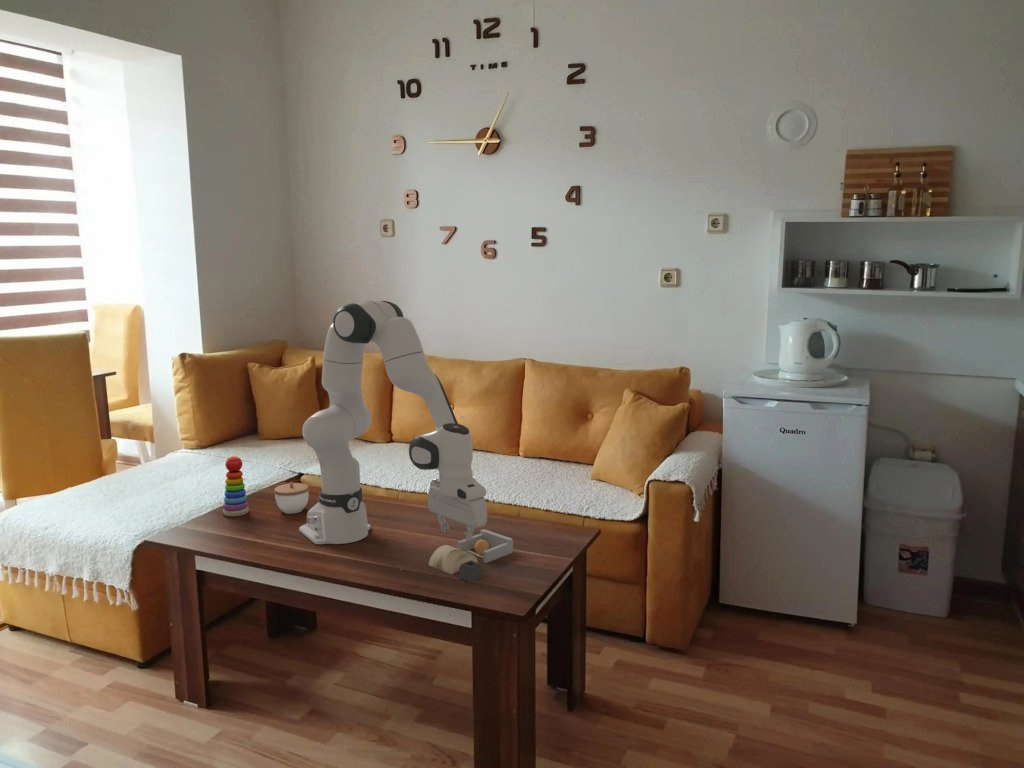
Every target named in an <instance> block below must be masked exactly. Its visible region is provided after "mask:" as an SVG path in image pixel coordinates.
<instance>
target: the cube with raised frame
mask: <svg viewBox="0 0 1024 768" xmlns="http://www.w3.org/2000/svg"><path fill="white" fill-rule="evenodd" d="M482 568H483V567H482V566H481V564H480V563H479V562H478V563H477V562H474V561H471V560H470V561H468V562H465V563H462V564H461V567H459V571H458V573H459V579H461V580H463V581H466V582H468V583H472V582H475V581H476V580H480V579H482V577H483V576H482V575H483V571H482Z"/></svg>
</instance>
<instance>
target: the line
mask: <svg viewBox="0 0 1024 768" xmlns="http://www.w3.org/2000/svg"><path fill="white" fill-rule="evenodd" d="M465 552H467V553H470V554H472V555H474V556H477V557H479V558H483V554H479V553H477V552H476V551H472V550H471V549H470V550H467V551H465Z"/></svg>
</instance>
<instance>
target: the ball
mask: <svg viewBox="0 0 1024 768" xmlns="http://www.w3.org/2000/svg"><path fill="white" fill-rule="evenodd" d="M488 549H490V547H489V544H488V542H487V541H486V540H483V539H481V540H478V541H477V542H476V543H475V548H474V551H475V553H478V554H481V555H483V551H485V550H488Z"/></svg>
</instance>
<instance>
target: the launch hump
mask: <svg viewBox="0 0 1024 768" xmlns="http://www.w3.org/2000/svg"><path fill="white" fill-rule="evenodd" d="M470 560H471V561H474V562H477V563H479V561H478V558H477V557H476V555H474V554H472V553H469V552H466V551H462V550H459V549H457V547H454V546H451V545H447V544H445V545H444V544H443V545H440V546H439V547H437V548H436V549H435V550H434V551H433V553H432V554H431V556H430V559H429V561H428V566H430V567H432V568H435V569H437V570H439V571H441V572H445V573H446V574H449V575H453V574H456V573H459V567H461V564H462V563H465V562H468V561H470Z"/></svg>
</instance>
